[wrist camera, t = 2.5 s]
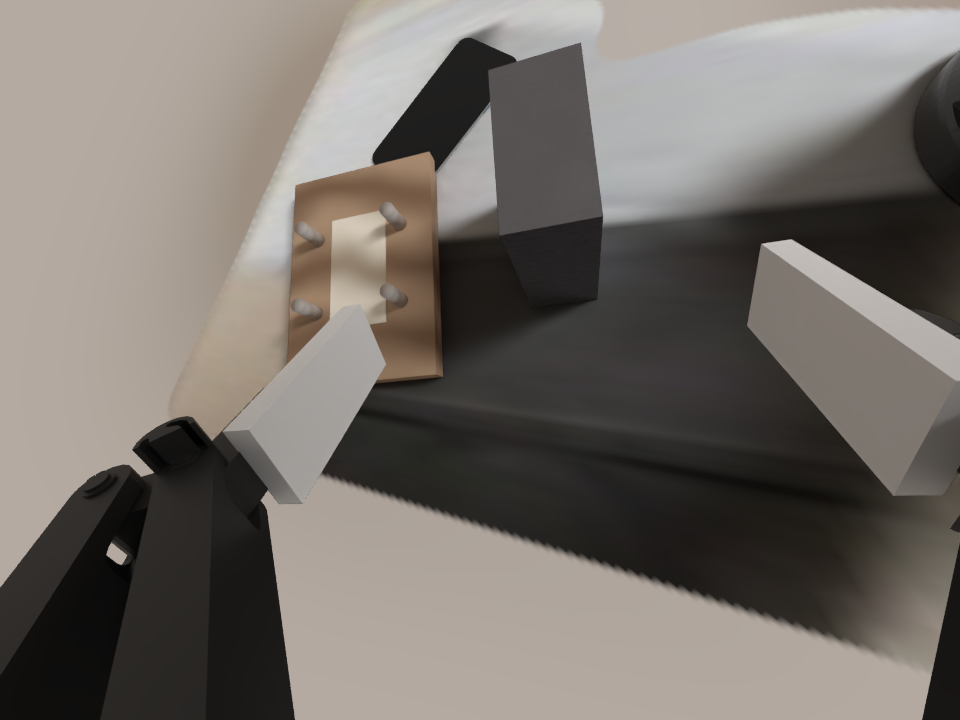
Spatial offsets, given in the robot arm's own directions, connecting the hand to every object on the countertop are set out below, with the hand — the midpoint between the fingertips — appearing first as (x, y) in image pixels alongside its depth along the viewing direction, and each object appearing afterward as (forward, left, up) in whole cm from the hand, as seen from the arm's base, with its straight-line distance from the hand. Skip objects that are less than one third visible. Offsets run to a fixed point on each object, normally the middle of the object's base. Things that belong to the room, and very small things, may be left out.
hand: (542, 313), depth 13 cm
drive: (+6, -9, -17) cm, 20 cm away
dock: (+20, +1, -17) cm, 26 cm away
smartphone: (+23, -16, -17) cm, 32 cm away
